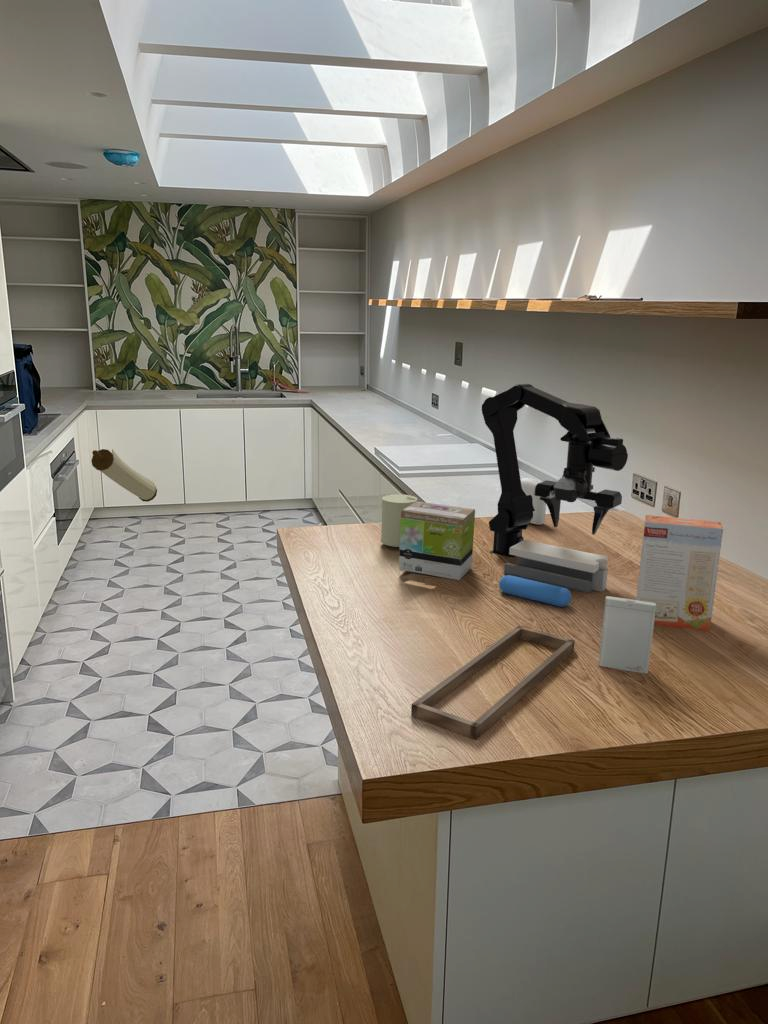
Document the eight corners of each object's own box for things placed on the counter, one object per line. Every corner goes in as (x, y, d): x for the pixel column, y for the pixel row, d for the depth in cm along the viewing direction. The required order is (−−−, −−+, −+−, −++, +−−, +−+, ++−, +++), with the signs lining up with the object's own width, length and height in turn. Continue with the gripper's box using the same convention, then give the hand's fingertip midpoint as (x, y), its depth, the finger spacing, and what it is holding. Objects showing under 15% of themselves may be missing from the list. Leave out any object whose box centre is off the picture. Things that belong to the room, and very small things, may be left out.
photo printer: (509, 518, 228) (512, 476, 225) (519, 515, 231) (522, 474, 228) (537, 526, 220) (540, 483, 217) (546, 523, 223) (550, 481, 220)
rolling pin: (82, 465, 169) (104, 463, 168) (84, 440, 171) (106, 439, 170) (143, 508, 200) (162, 507, 199) (144, 487, 201) (163, 486, 201)
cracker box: (708, 622, 156) (722, 520, 151) (709, 633, 151) (724, 528, 145) (634, 611, 160) (645, 512, 155) (633, 622, 155) (645, 520, 149)
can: (416, 547, 199) (418, 501, 196) (380, 546, 199) (381, 500, 196) (415, 536, 208) (417, 492, 205) (380, 536, 208) (381, 491, 205)
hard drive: (647, 674, 133) (656, 606, 130) (598, 666, 136) (605, 598, 133) (648, 670, 135) (656, 602, 131) (599, 662, 137) (605, 595, 134)
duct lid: (509, 554, 179) (509, 547, 179) (523, 546, 185) (524, 539, 185) (599, 573, 167) (600, 566, 167) (612, 564, 174) (612, 557, 173)
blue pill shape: (495, 593, 169) (496, 576, 168) (503, 588, 172) (504, 571, 171) (566, 611, 160) (567, 592, 159) (573, 605, 163) (575, 587, 162)
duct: (504, 574, 181) (505, 554, 180) (518, 565, 187) (519, 546, 186) (597, 595, 169) (599, 574, 168) (609, 585, 175) (611, 565, 174)
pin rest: (411, 716, 118) (411, 704, 118) (517, 635, 148) (518, 625, 147) (476, 739, 112) (476, 727, 112) (573, 650, 142) (574, 640, 141)
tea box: (397, 571, 181) (399, 509, 177) (412, 559, 190) (414, 499, 186) (460, 581, 176) (463, 517, 172) (472, 568, 185) (476, 507, 181)
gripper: (525, 463, 175) (521, 530, 179) (606, 474, 164) (600, 546, 168) (547, 456, 183) (542, 520, 187) (625, 466, 173) (619, 535, 177)
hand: (574, 530), depth 180 cm, fingers open, 9 cm apart
